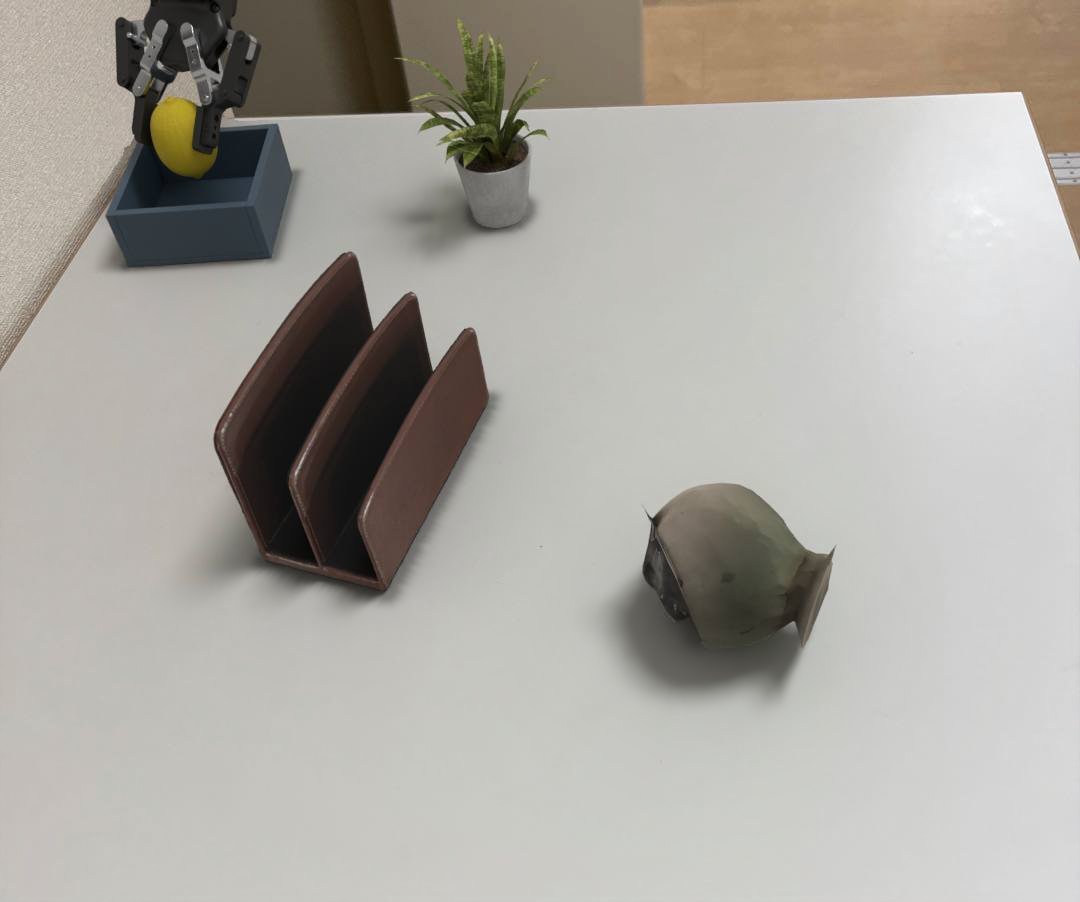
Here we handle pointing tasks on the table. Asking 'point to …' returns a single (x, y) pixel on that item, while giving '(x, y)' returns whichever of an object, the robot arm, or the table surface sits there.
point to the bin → (204, 202)
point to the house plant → (487, 136)
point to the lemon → (178, 138)
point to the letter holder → (347, 431)
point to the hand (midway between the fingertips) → (173, 147)
